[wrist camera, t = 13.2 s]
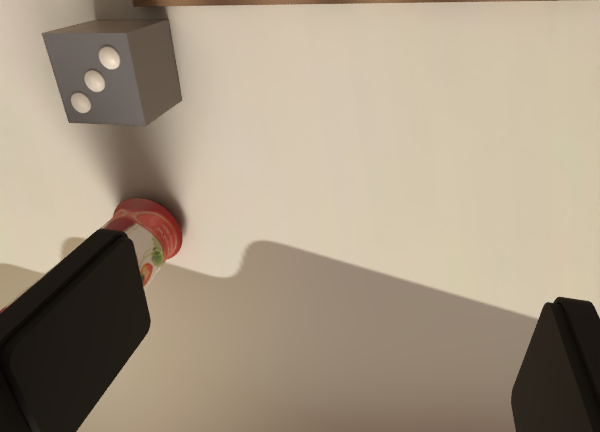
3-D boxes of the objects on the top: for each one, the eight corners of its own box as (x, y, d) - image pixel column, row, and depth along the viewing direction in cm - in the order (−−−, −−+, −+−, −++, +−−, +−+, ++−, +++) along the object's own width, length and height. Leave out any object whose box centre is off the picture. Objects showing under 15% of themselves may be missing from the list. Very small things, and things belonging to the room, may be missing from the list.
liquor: (110, 186, 42) (-264, 492, 19) (184, 192, 41) (-118, 529, 17) (127, 250, 46) (-167, 574, 22) (195, 258, 45) (-41, 609, 21)
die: (168, 19, 33) (125, 33, 28) (181, 100, 36) (144, 126, 31) (95, 20, 34) (40, 33, 29) (114, 98, 37) (67, 123, 32)
